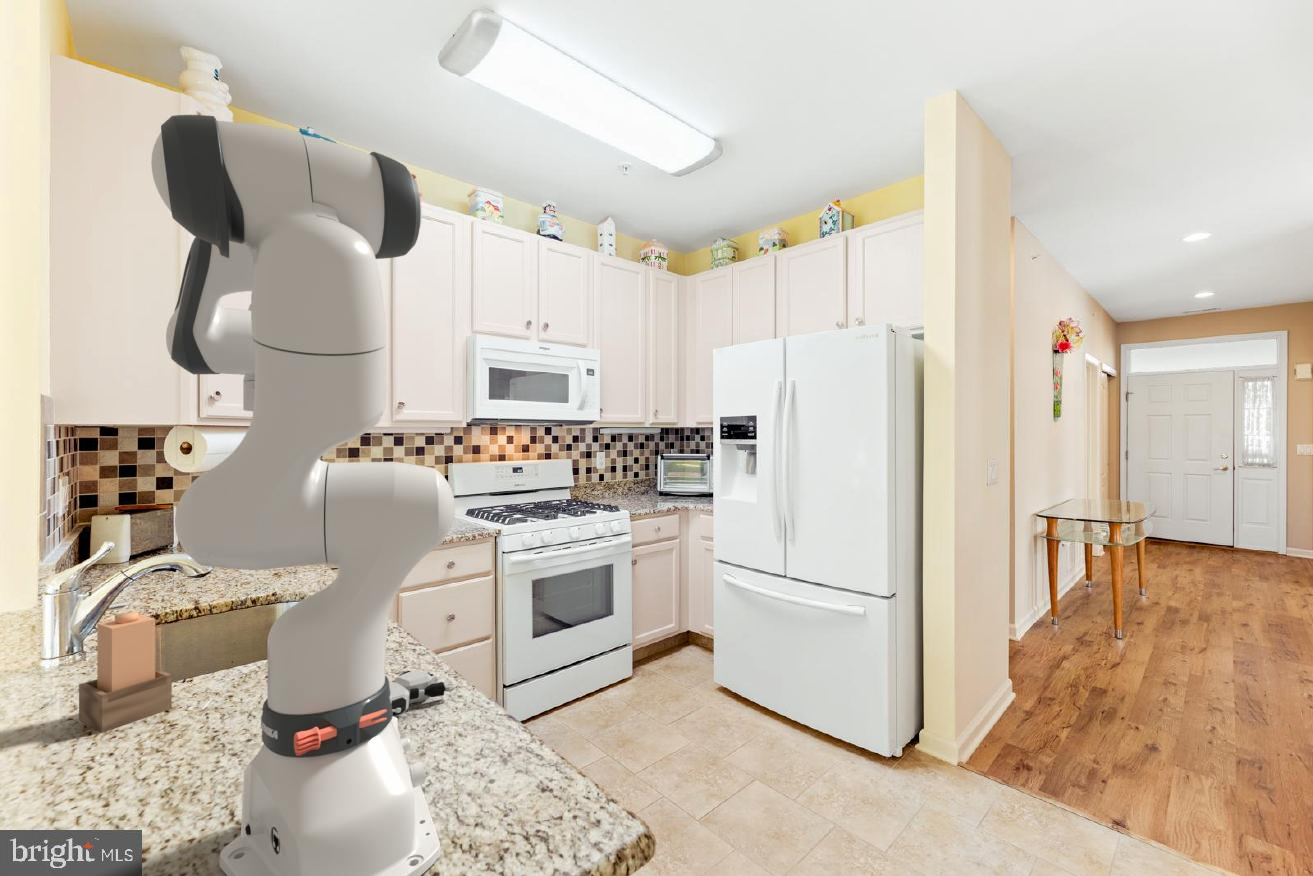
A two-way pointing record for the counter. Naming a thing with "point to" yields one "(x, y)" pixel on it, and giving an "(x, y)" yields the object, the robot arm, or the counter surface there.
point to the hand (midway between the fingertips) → (276, 484)
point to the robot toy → (414, 689)
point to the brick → (125, 651)
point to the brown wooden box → (124, 702)
